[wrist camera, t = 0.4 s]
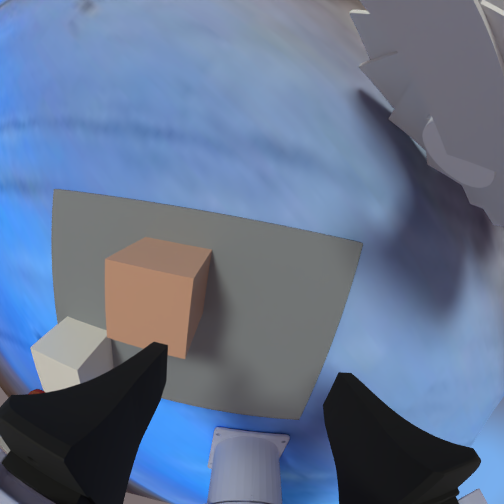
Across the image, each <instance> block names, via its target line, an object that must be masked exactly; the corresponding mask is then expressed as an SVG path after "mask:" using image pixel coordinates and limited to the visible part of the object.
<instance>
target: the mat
mask: <svg viewBox="0 0 504 504" xmlns="http://www.w3.org/2000/svg"><path fill="white" fill-rule="evenodd" d="M144 237H149V238H154V239H159V240H164V241H170V242H175V243H180V244H185V245H190V246H196V247H201V248H206V249H211V250H212V253H211V260H210V266H209V273H208V280H207V287H206V294H205V301H204V308H203V314H202V317H201V319H200V322H199V324H198V327H197V329H196V332H195V335H194V337H193V340H192V342H191V345H190V348H189V350H188V353H187V356H186V358H185V359H182V358H178V357H173V356H169V355H168V357H167V381H166V384H165V388H164V391H163V394H162V397H161V398H163V399H167V400H171V401H175V402H179V403H184V404H188V405H193V406H197V407H202V408H207V409H212V410H218V411H224V412H230V413H236V414H243V415H251V416H259V417H269V418H280V419H294V420H299V419H300V417H301V415H302V412H303V410H304V408H305V406H306V404H307V402H308V399H309V397H310V395H311V393H312V390H313V388H314V386H315V384H316V381H317V379H318V376H319V374H320V372H321V369H322V367H323V364H324V362H325V359H326V357H327V354H328V352H329V349H330V346H331V344H332V341H333V338H334V336H335V333H336V330H337V327H338V325H339V322H340V319H341V316H342V313H343V310H344V307H345V304H346V301H347V298H348V295H349V291H350V288H351V285H352V282H353V278H354V275H355V272H356V268H357V265H358V261H359V257H360V254H361V250H362V246H363V243H361V242H357V241H353V240H348V239H344V238H339V237H335V236H330V235H326V234H321V233H316V232H312V231H307V230H302V229H297V228H292V227H287V226H282V225H277V224H272V223H267V222H262V221H257V220H252V219H247V218H241V217H236V216H231V215H225V214H220V213H214V212H208V211H203V210H197V209H191V208H185V207H179V206H173V205H167V204H161V203H155V202H148V201H142V200H135V199H128V198H122V197H115V196H108V195H101V194H93V193H86V192H78V191H70V190H62V189H54V194H53V208H52V273H53V287H54V298H55V307H56V314H57V322H58V324H59V323H60V322H61V321H62V320H63V319H65V318H66V317H67V316H68V317H70V318H73V319H76V320H78V321H81V322H84V323H87V324H90V325H92V326H95V327H98V328H101V329H104V330H106V312H105V259H106V258H107V257H109V256H111V255H113V254H115V253H116V252H118V251H120V250H122V249H124V248H126V247H127V246H129V245H131V244H133V243H135V242H137V241H139V240H141V239H143V238H144ZM111 344H112V355H113V365H114V368H115V367H117V366H118V365H120V364H122V363H123V362H125V361H126V360H128V359H129V358H131V357H132V356H134V355H135V354H137V353H138V352H140V351H141V350H142V349H143V348H140V347H136V346H133V345H129V344H126V343H123V342H120V341H116V340H113V339H111Z"/></svg>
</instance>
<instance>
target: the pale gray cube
mask: <svg viewBox="0 0 504 504" xmlns="http://www.w3.org/2000/svg"><path fill="white" fill-rule="evenodd" d="M30 348H31V352H32V355H33V359H34V362H35V366H36V369H37V372H38V375H39V378H40V381H41V384H42V387H43V390H44V392H52V391H56V390H61V389H65V388H68V387H71V386H74V385H78V384H81V383H84V382H86V381H89V380H91V379H94V378H96V377H98V376H100V375H102V374H104V373H106V372H108V371H109V370H111V369H113V368H114V365H113V355H112V344H111V339H110V338H107V330H104V329H101V328H98V327H95V326H92V325H90V324H87V323H84V322H81V321H78V320H76V319H73V318H70V317H68V316H67V317H66V318H65V319H63V320H62V321H61V322H60V323H59V324H57V325H56V326H55V327H54V328H53V329H51V330H50V331H49V332H48V333H47V334H45V335H44V336H43V337H42V338H41V339H40V340H38V341H37V342H36V343H35V344H34V345H33V346H31V347H30Z"/></svg>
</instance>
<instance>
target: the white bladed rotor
mask: <svg viewBox="0 0 504 504" xmlns="http://www.w3.org/2000/svg"><path fill="white" fill-rule="evenodd" d="M359 1H360V2H361V3H362V4H363V5H364V7H365V8H366V9H367V11H366V10H352V11H350V12H349V14H350V15H351V18H352V20H353V22H354V24H355V26H356V28H357V30H358V32H359V34H360V37H361V39H362V41H363V44H364V46H365V48H366V51H367V53H368V56H369V58H370V60H369V61H366V62H364V63H361V64H360V65H359V68H360V69H361V70H362V72H363V73H364V74H365V75H366V76H367V77H368V78H369V79H370V80H371V82H372V83H373V84H374V85H375V86H376V87H377V89H378V90H379V91H380V92H381V93H382V95H383V96H384V97H385V98H386V100H387V101H388V102H389V103H390V105H391V106H392V107H393V108H395V109H394V110H393V112H392V114H391V115H390V117H389V118H388V119H389V120H390V121H391V122H393V123H394V124H395V125H396V126H398V127H399V128H400V129H401V130H403V131H404V132H405V133H406V134H407V135H409V136H410V137H411V138H412V139H413V140H414V141H416V142H417V143H418V144H419V145H420V146H421V147H422V148H423V149H425V150H426V154H427V165H429V166H431V167H433V168H434V169H436V170H438V171H439V172H441V173H443V174H444V175H446V176H448V177H449V178H451V179H453V180H454V181H456V182H457V183H459V184H460V185H462V186H463V189H464V191H465V193H466V196H467V198H468V200H469V203H470V204H471V205H474V206H477V207H480V208H483V209H484V211H485V213H486V214H487V216H488V217H489V219H490V221H491V222H492V224H493V225H496V226H504V0H359Z"/></svg>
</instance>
